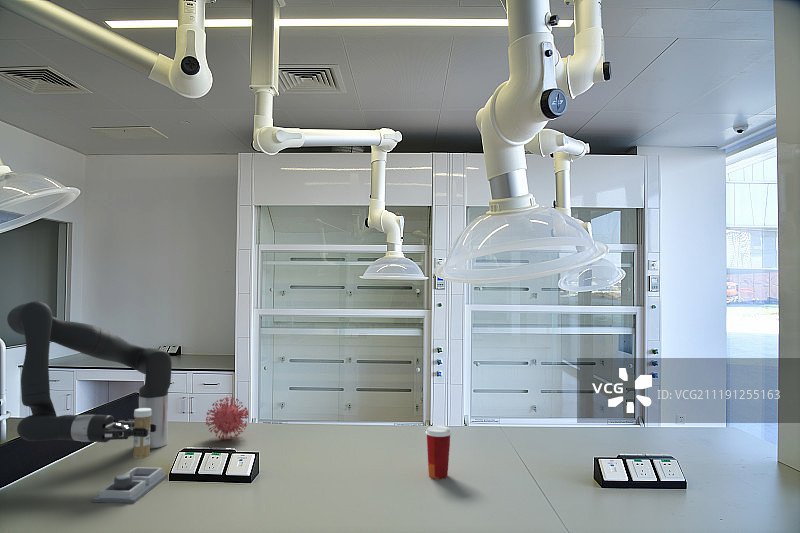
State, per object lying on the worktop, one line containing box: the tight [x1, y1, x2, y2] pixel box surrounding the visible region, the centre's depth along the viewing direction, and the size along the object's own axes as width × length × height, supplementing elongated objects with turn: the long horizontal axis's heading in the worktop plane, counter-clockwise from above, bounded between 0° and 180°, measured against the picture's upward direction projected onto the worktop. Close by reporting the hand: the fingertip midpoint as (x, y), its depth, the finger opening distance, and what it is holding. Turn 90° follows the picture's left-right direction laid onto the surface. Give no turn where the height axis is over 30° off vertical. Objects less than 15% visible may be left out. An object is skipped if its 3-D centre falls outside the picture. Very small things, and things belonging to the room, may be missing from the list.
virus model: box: [205, 396, 250, 440], centre depth 207 cm, size 15×15×15 cm
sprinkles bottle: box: [132, 407, 151, 459], centre depth 164 cm, size 5×5×14 cm
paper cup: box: [424, 425, 452, 480], centre depth 171 cm, size 8×8×14 cm
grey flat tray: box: [92, 466, 168, 504], centre depth 158 cm, size 19×11×5 cm, turn 178°
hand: (151, 430), depth 164 cm, fingers closed on sprinkles bottle, 4 cm apart
